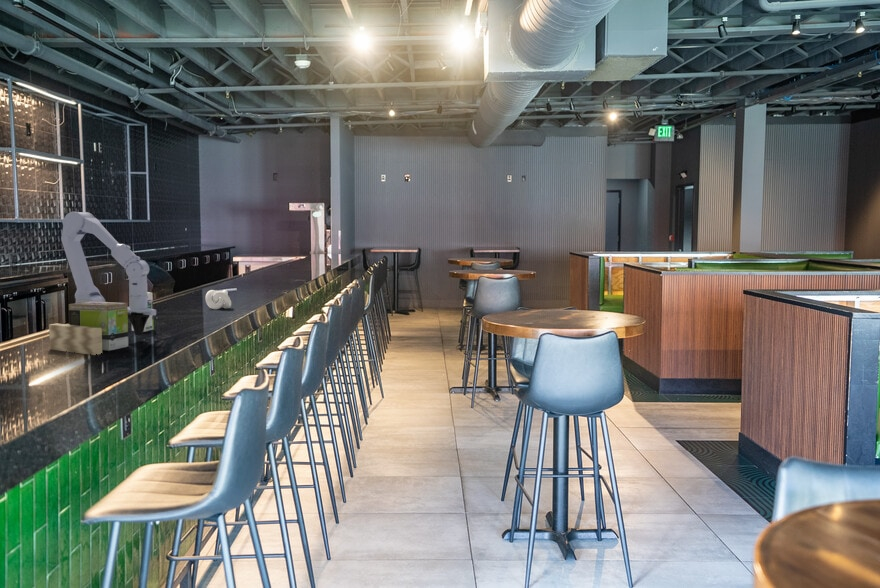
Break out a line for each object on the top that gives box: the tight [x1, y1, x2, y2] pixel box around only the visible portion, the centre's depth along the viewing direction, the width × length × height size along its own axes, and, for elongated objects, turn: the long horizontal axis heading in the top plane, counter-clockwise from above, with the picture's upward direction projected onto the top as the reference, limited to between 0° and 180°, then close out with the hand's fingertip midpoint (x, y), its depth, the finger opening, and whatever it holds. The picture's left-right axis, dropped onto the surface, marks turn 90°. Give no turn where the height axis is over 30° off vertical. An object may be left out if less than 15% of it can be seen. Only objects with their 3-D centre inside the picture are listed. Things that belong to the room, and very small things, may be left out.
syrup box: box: [131, 291, 155, 333], centre depth 274 cm, size 6×6×14 cm
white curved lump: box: [204, 289, 232, 310], centre depth 347 cm, size 11×12×9 cm
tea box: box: [68, 301, 129, 351], centre depth 235 cm, size 15×10×15 cm
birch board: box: [48, 323, 103, 356], centre depth 227 cm, size 20×3×8 cm, turn 65°
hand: (138, 334), depth 250 cm, fingers closed
